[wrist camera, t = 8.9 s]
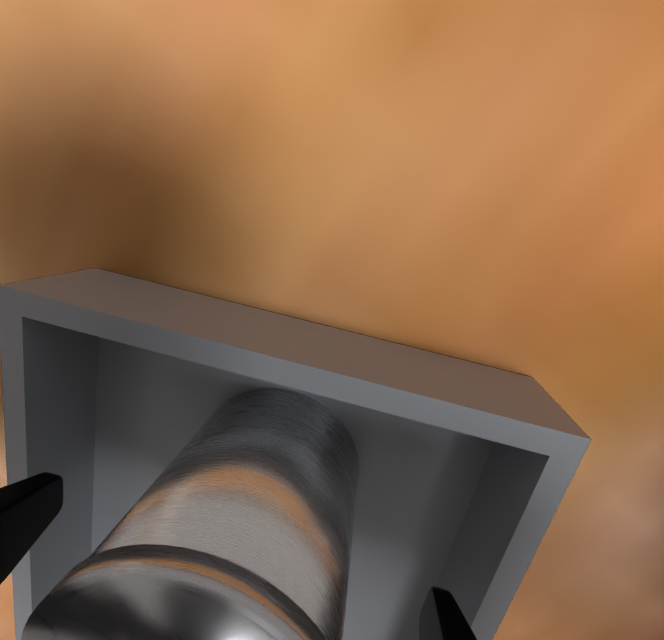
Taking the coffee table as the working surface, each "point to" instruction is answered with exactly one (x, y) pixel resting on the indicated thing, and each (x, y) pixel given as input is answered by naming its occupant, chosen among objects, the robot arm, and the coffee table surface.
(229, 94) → the coffee table surface
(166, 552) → the steel tin
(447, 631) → the robot arm
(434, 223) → the coffee table surface
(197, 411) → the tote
